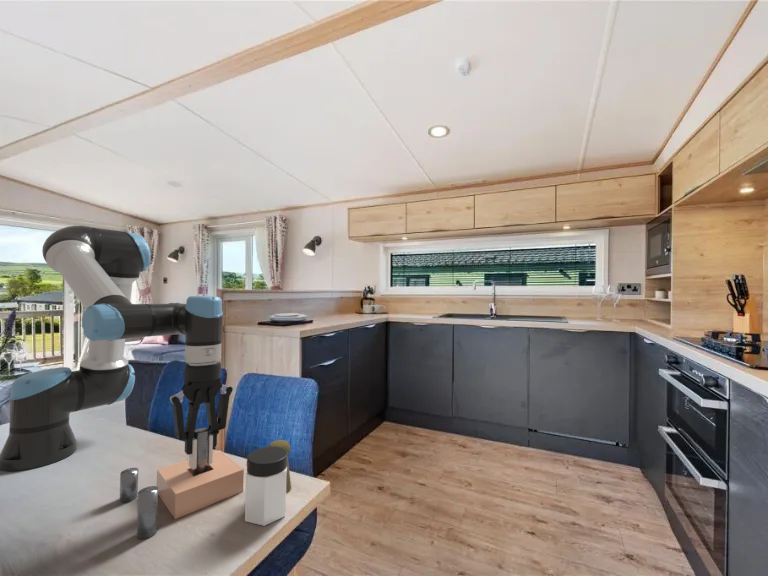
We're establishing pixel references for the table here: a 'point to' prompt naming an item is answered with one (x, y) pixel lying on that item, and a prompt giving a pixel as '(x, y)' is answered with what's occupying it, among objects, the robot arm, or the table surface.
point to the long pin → (202, 450)
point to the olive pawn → (286, 446)
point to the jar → (266, 485)
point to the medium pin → (147, 512)
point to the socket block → (198, 484)
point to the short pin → (128, 485)
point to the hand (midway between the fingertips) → (200, 464)
